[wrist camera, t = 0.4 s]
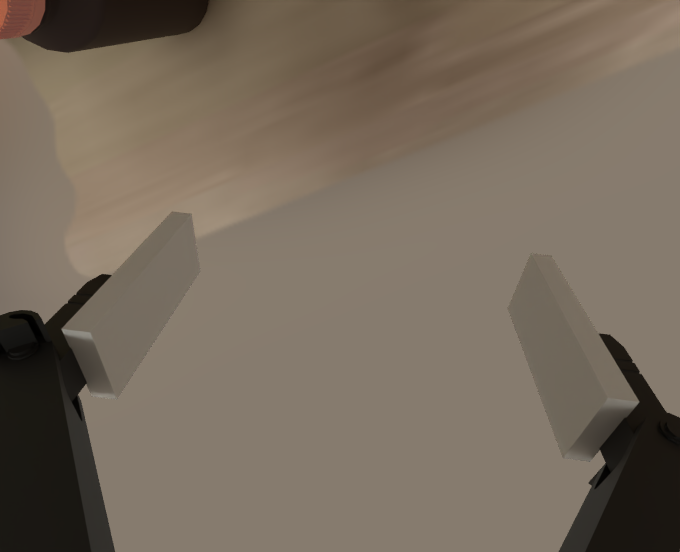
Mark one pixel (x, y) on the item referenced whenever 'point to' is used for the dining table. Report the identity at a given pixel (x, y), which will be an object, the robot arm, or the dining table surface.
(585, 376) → the robot arm
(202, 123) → the dining table surface
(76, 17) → the bottle
